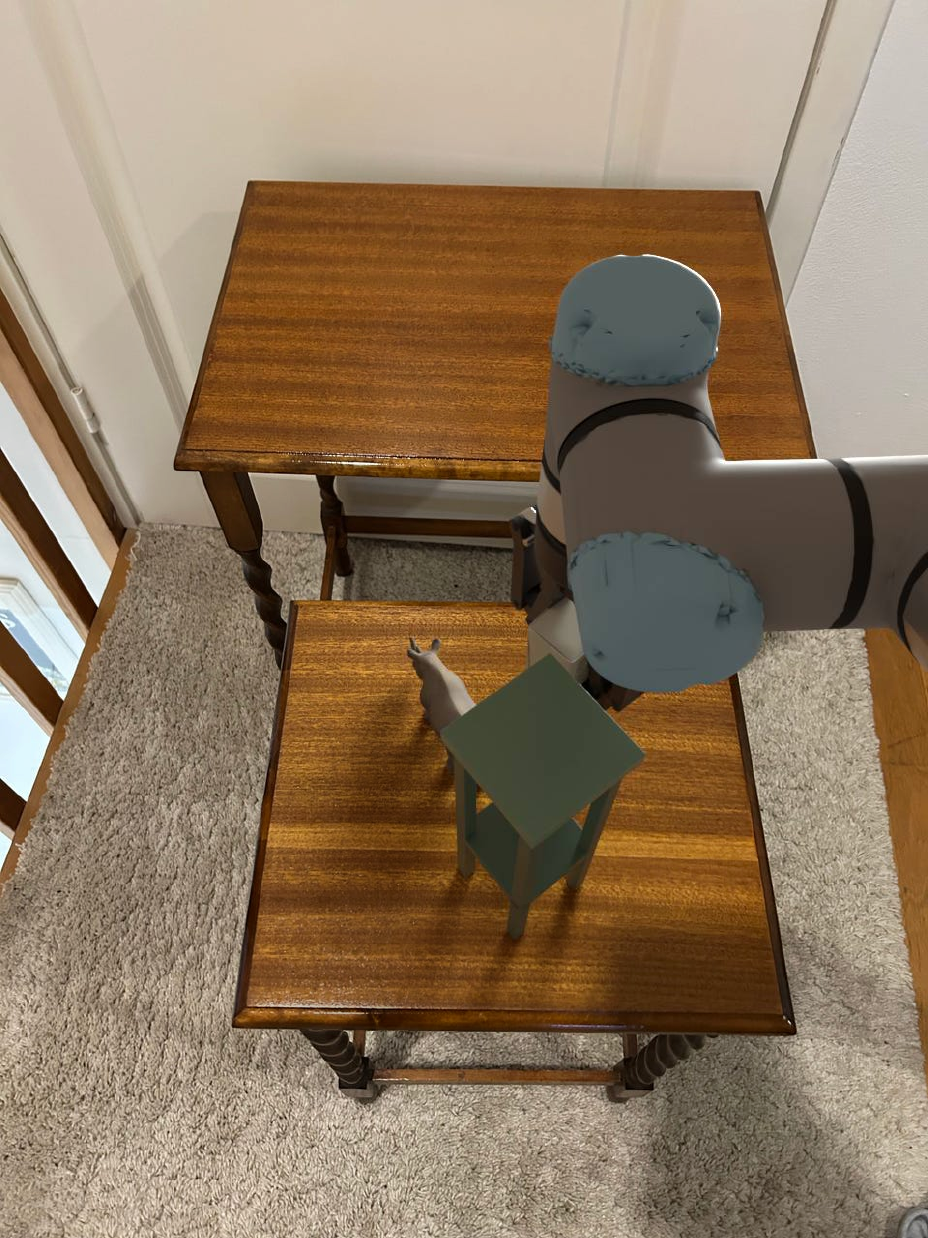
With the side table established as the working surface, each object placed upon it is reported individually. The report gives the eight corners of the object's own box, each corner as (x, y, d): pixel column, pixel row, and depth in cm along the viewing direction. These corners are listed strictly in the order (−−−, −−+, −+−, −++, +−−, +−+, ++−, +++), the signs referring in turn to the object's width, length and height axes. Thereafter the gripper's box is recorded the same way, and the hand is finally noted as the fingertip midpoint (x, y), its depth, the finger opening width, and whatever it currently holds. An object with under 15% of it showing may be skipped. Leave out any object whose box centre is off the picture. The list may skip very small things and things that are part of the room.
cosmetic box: (573, 657, 77) (586, 571, 67) (613, 691, 75) (634, 608, 65) (519, 704, 75) (525, 623, 64) (559, 741, 73) (572, 663, 63)
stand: (583, 883, 73) (631, 756, 51) (514, 940, 71) (533, 833, 49) (525, 815, 76) (548, 667, 54) (457, 868, 74) (452, 736, 52)
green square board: (642, 762, 52) (646, 753, 51) (532, 850, 49) (533, 843, 48) (548, 662, 55) (550, 652, 54) (440, 739, 52) (439, 730, 51)
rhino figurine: (435, 643, 84) (433, 608, 79) (502, 774, 78) (504, 745, 73) (393, 660, 83) (388, 626, 78) (457, 794, 77) (456, 766, 72)
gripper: (758, 574, 52) (678, 747, 72) (551, 395, 59) (531, 596, 79) (661, 646, 50) (606, 804, 69) (458, 450, 57) (461, 643, 77)
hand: (566, 693), depth 74 cm, fingers closed on cosmetic box, 5 cm apart
